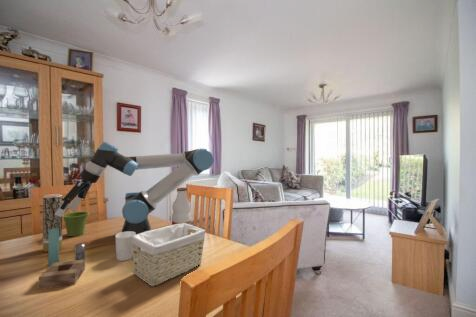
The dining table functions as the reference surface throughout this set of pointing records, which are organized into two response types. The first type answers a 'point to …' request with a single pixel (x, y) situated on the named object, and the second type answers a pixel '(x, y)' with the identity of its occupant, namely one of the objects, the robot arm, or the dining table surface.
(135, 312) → the dining table surface
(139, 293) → the dining table surface
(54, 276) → the hole block
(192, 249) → the storage basket
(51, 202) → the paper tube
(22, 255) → the dining table surface
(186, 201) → the fruit juice
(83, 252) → the short pin
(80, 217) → the plant pot
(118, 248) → the white cup
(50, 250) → the long pin
